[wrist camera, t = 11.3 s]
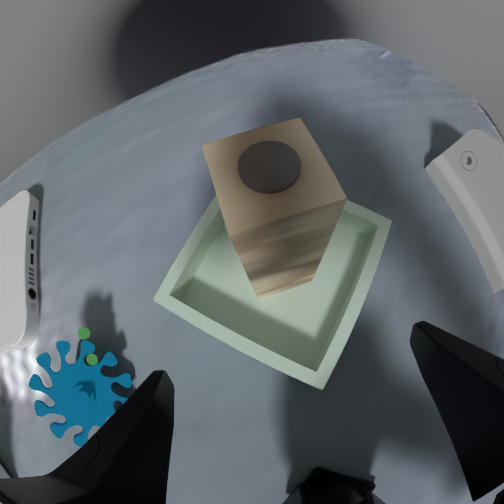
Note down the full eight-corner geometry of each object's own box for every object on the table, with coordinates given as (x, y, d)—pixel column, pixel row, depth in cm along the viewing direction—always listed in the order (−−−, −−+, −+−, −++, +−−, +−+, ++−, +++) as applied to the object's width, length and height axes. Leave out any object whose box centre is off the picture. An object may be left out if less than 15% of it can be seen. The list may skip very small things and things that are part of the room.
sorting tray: (379, 237, 23) (392, 220, 20) (316, 383, 20) (322, 390, 17) (244, 179, 27) (240, 158, 23) (169, 306, 23) (152, 299, 20)
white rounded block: (422, 166, 26) (472, 106, 17) (438, 165, 27) (484, 113, 19) (494, 297, 20) (564, 255, 11) (504, 281, 22) (564, 243, 13)
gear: (136, 456, 17) (27, 436, 12) (120, 438, 21) (31, 420, 16) (144, 342, 22) (38, 310, 17) (128, 344, 26) (42, 318, 21)
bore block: (292, 232, 23) (300, 113, 11) (311, 281, 22) (348, 194, 9) (241, 248, 23) (200, 141, 11) (258, 299, 22) (227, 232, 9)
